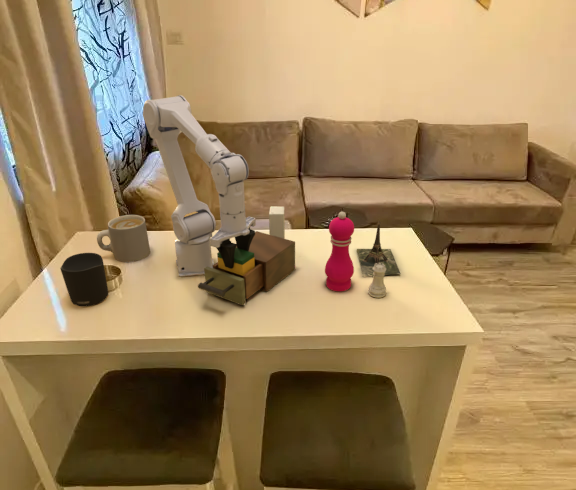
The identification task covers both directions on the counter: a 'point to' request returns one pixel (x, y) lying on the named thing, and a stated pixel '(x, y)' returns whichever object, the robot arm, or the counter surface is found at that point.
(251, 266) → the sponge
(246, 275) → the drawer
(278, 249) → the cabinet
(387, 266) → the eiffel tower figurine
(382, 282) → the rook chess piece
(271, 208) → the cosmetic box
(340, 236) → the pepper mill
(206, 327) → the counter surface
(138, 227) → the coffee mug
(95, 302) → the black speaker
